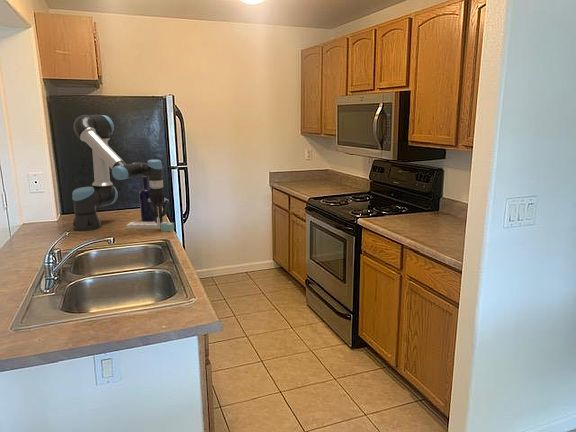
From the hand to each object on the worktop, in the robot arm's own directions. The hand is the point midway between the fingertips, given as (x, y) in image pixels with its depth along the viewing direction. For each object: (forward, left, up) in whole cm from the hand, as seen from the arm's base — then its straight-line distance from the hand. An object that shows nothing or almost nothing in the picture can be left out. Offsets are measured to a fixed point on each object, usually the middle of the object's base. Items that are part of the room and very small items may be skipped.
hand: (159, 228), depth 247 cm
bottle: (-15, +22, -1) cm, 27 cm away
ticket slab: (-10, +7, -1) cm, 12 cm away
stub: (+5, 0, -1) cm, 5 cm away
